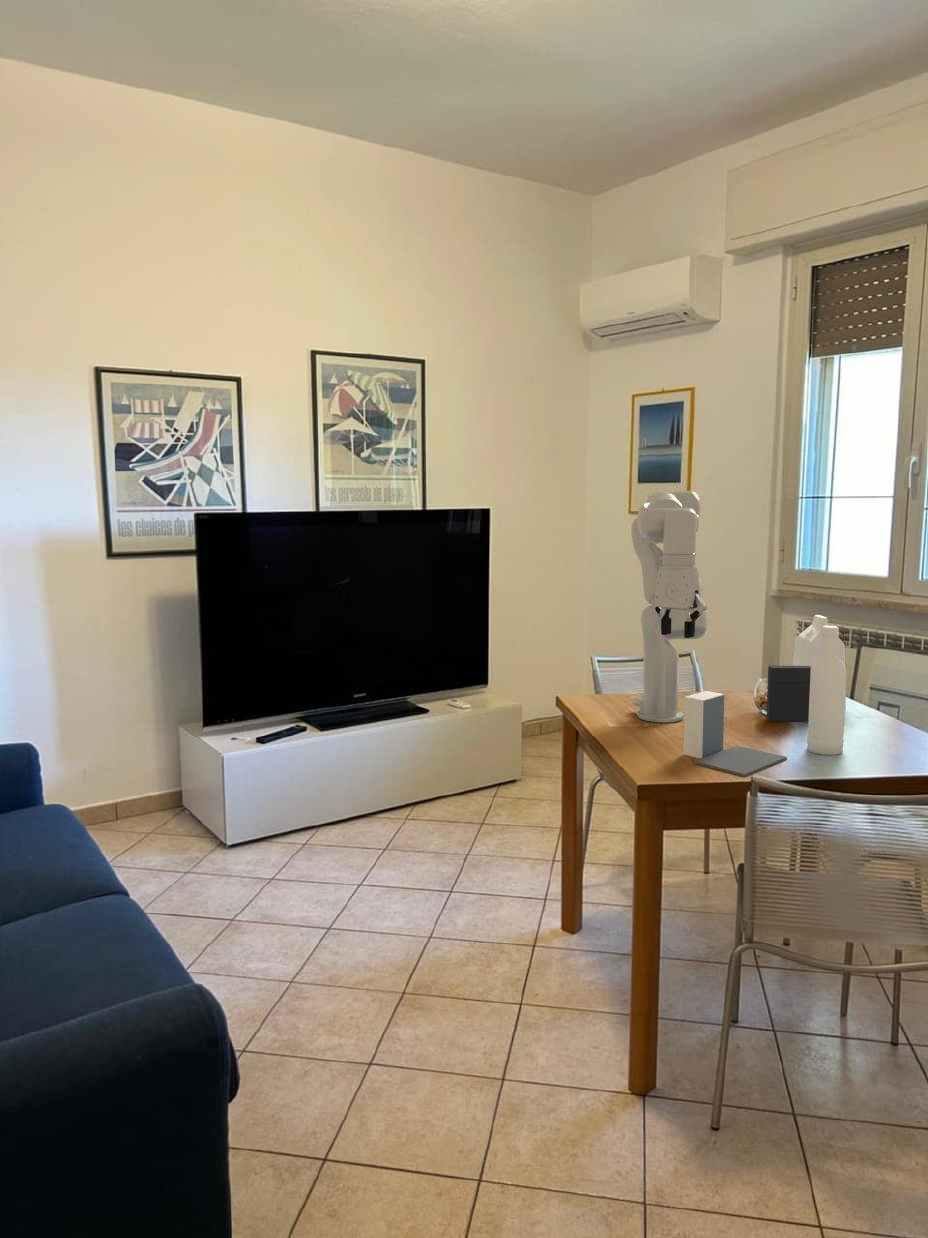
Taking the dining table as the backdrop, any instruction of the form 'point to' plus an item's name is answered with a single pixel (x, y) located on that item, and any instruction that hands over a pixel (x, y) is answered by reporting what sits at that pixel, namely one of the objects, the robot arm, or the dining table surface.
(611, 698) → the dining table surface
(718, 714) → the flip block
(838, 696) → the bottle
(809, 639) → the milk
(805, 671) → the dark grey box
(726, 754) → the mat
